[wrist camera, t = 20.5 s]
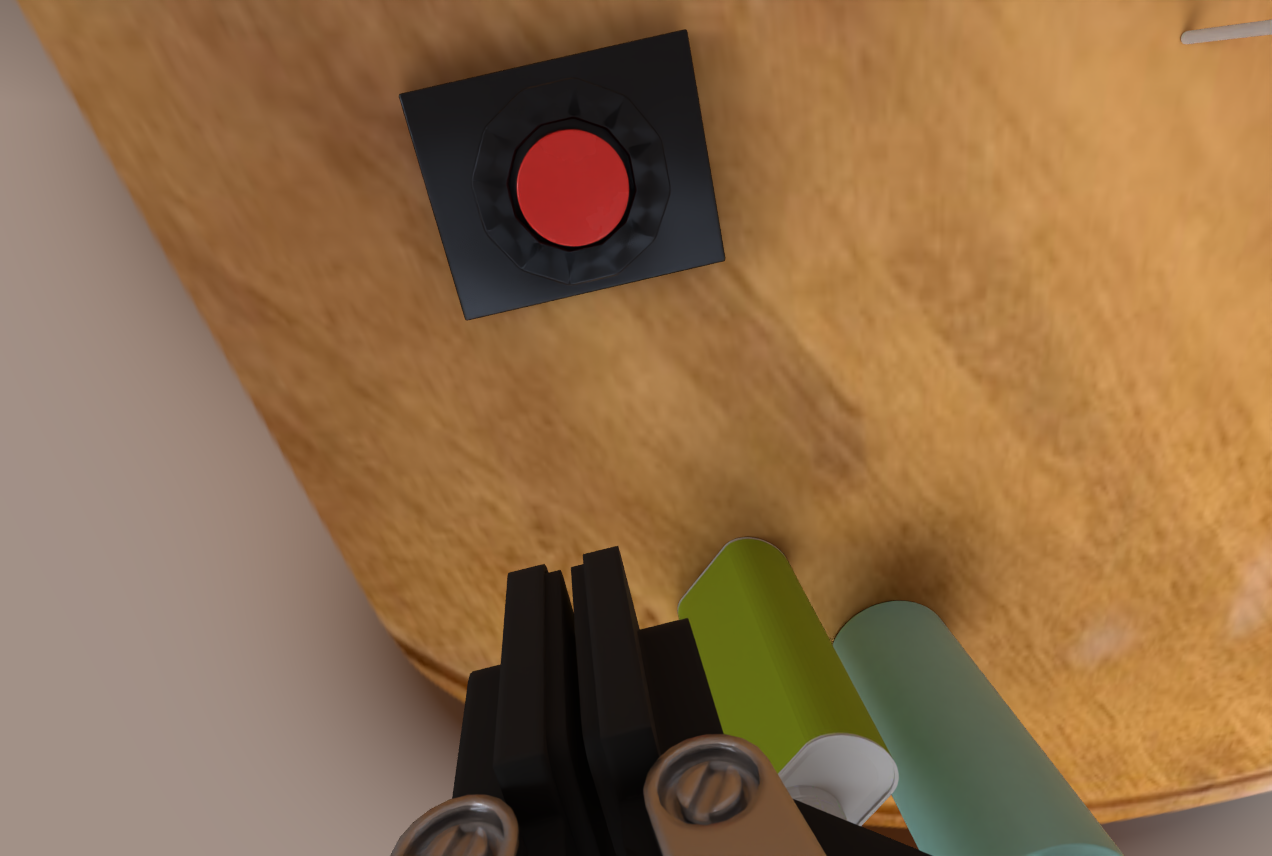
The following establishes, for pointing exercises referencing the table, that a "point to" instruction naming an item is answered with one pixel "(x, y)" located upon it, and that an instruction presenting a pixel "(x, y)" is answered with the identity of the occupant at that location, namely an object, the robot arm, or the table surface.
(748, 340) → the table surface
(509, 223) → the button box
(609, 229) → the button
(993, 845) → the spray bottle
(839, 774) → the vape
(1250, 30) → the lollipop
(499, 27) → the table surface
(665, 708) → the robot arm
